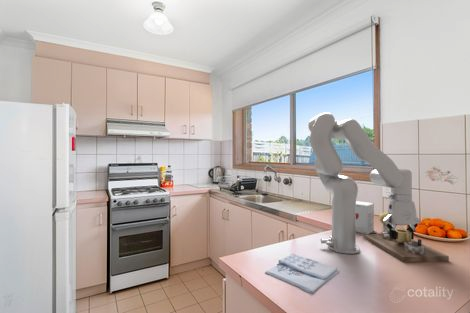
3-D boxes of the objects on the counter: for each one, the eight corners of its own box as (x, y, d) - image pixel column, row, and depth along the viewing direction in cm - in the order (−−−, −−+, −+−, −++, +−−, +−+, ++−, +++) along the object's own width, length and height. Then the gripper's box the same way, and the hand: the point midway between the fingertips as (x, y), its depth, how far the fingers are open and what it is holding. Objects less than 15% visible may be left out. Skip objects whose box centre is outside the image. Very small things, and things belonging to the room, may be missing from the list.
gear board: (402, 262, 91) (402, 245, 91) (363, 238, 117) (363, 225, 117) (448, 261, 92) (448, 244, 92) (399, 238, 118) (399, 224, 118)
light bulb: (395, 233, 124) (395, 214, 124) (382, 233, 125) (382, 213, 125) (390, 230, 130) (390, 211, 130) (377, 229, 132) (377, 211, 132)
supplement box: (349, 230, 130) (349, 202, 130) (356, 227, 136) (356, 200, 136) (368, 234, 123) (368, 205, 123) (374, 230, 129) (374, 203, 129)
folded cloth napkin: (340, 273, 84) (340, 267, 84) (311, 296, 70) (311, 289, 70) (292, 256, 98) (292, 251, 98) (261, 273, 84) (261, 267, 84)
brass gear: (399, 243, 101) (399, 233, 101) (388, 237, 108) (388, 228, 108) (415, 242, 101) (415, 233, 101) (403, 237, 108) (403, 228, 108)
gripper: (387, 199, 101) (387, 242, 101) (427, 198, 101) (428, 241, 101) (376, 196, 108) (376, 236, 108) (413, 195, 109) (414, 235, 109)
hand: (401, 238), depth 105 cm, fingers closed on brass gear, 7 cm apart
